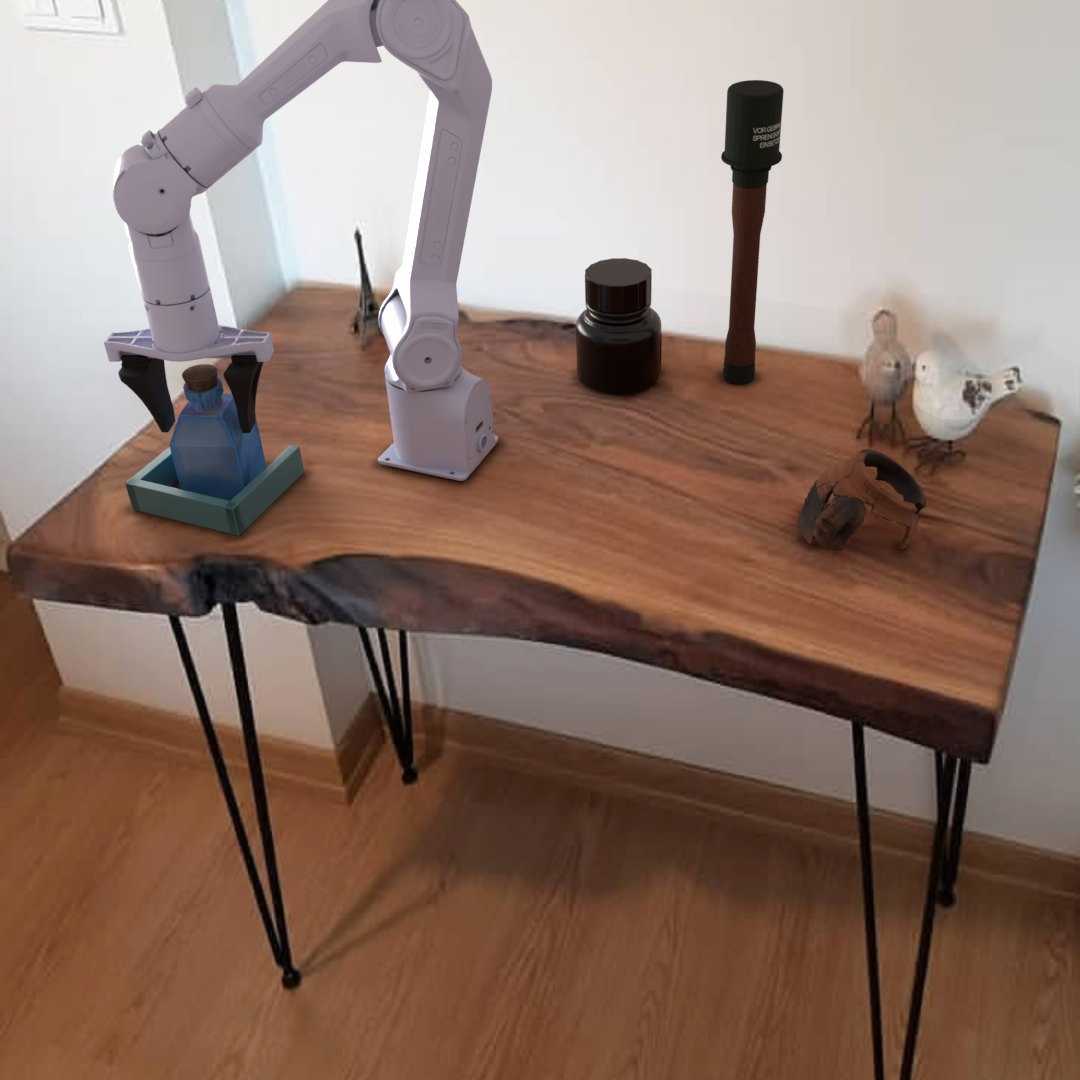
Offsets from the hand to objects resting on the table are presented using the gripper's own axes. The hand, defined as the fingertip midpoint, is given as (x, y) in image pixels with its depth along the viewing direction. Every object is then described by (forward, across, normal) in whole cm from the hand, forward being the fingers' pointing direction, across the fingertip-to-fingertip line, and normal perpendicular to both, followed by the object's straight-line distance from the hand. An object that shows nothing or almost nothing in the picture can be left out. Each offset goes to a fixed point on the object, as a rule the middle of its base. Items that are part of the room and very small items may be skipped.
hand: (208, 427), depth 113 cm
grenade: (+7, -50, -22) cm, 55 cm away
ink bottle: (+7, -37, -22) cm, 43 cm away
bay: (+7, 0, 0) cm, 7 cm away
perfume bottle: (+7, 0, -1) cm, 7 cm away
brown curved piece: (+7, -58, +6) cm, 59 cm away
